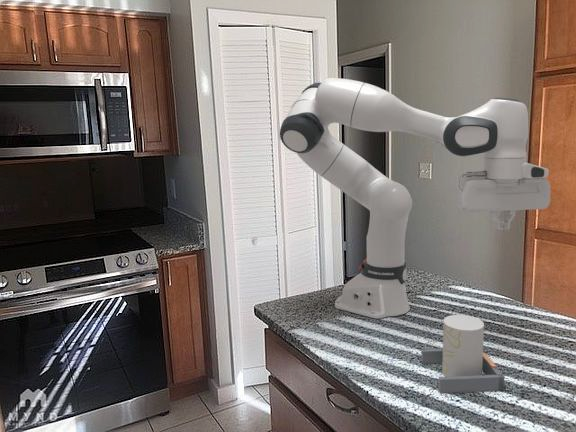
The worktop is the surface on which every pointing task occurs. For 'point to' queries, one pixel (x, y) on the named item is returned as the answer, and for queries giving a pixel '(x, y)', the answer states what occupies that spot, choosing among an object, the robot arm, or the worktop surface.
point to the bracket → (466, 383)
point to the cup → (462, 346)
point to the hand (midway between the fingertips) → (501, 229)
